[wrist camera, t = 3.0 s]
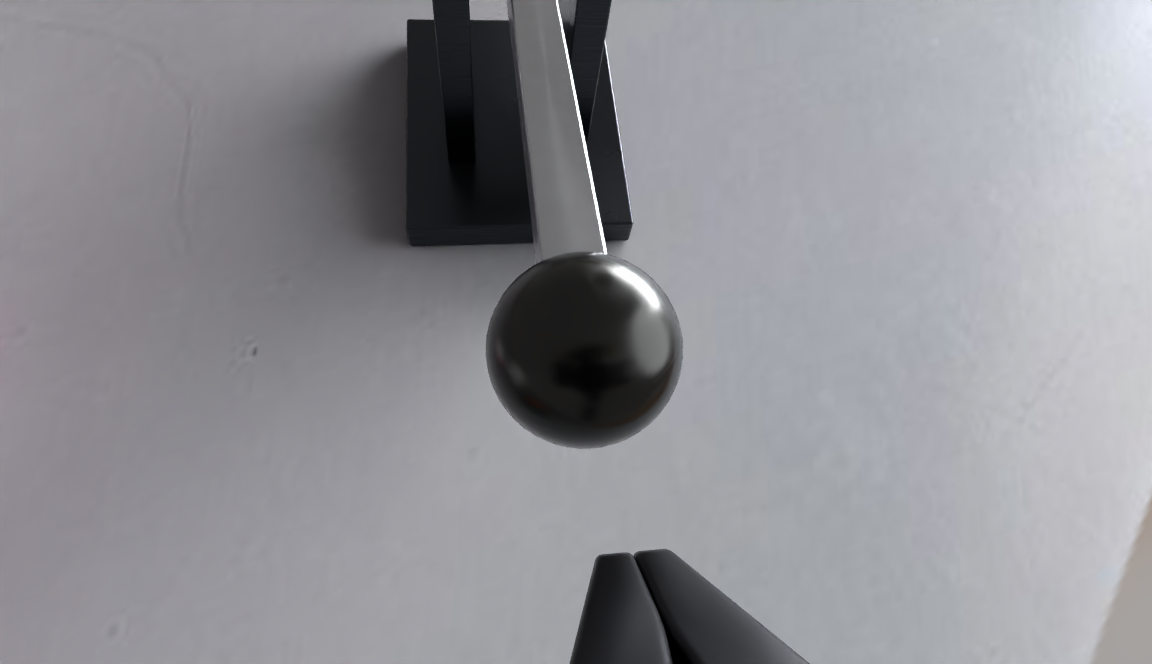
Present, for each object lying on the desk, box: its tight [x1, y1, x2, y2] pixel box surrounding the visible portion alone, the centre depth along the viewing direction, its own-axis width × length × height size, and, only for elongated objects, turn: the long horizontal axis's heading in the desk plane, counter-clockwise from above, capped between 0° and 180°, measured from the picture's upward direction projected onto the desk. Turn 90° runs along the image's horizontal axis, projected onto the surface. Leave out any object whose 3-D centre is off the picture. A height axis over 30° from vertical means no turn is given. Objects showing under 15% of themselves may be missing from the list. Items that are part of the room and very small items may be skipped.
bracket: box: [406, 0, 633, 246], centre depth 23 cm, size 10×8×11 cm
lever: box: [486, 0, 683, 449], centre depth 15 cm, size 18×3×3 cm, turn 6°
